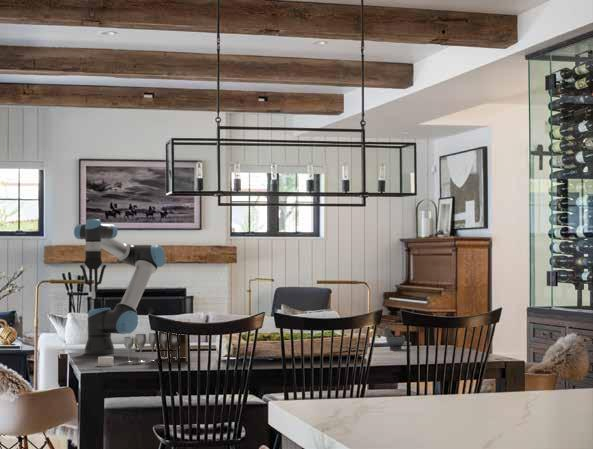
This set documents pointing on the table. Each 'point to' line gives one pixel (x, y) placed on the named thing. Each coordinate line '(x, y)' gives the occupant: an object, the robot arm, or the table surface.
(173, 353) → the walnut shelf
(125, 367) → the table surface
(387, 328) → the mortar and pestle
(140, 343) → the goblet set
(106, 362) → the cream squat rounded piece
